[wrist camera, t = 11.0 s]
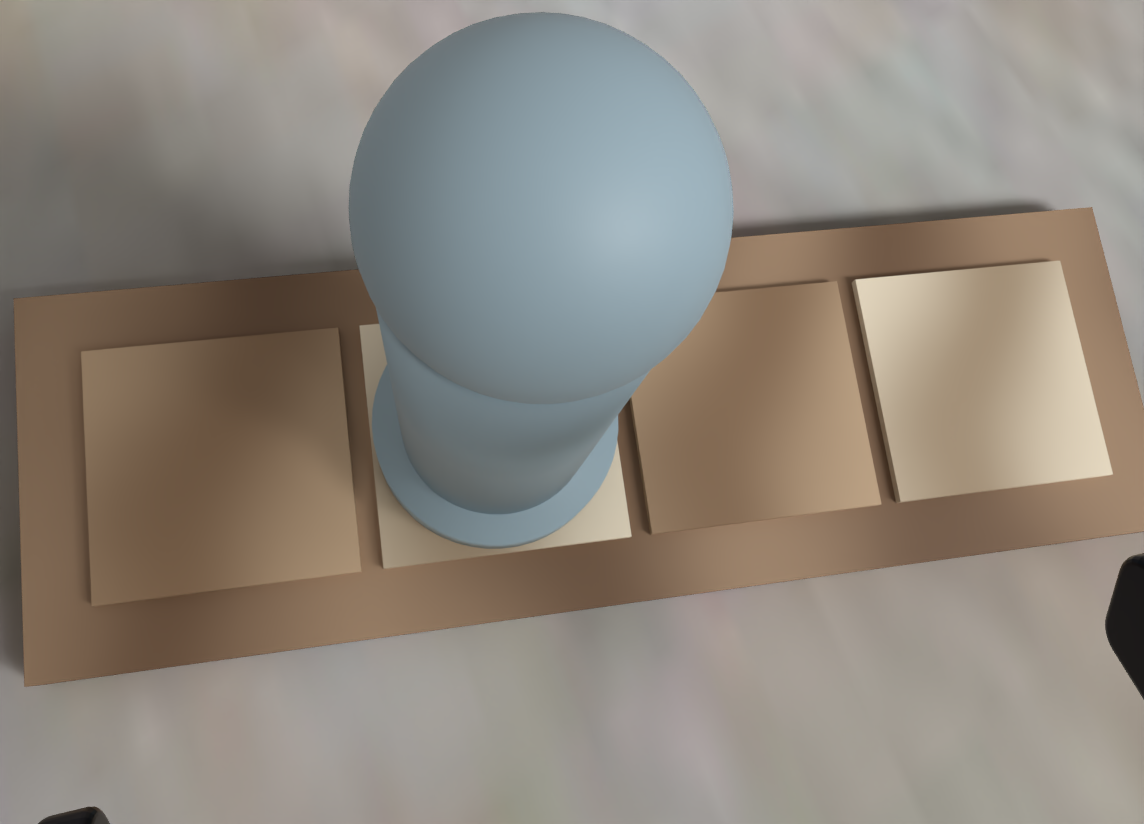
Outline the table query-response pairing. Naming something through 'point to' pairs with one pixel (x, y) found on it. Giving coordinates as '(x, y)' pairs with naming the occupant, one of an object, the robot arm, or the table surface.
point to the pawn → (529, 262)
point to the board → (636, 476)
